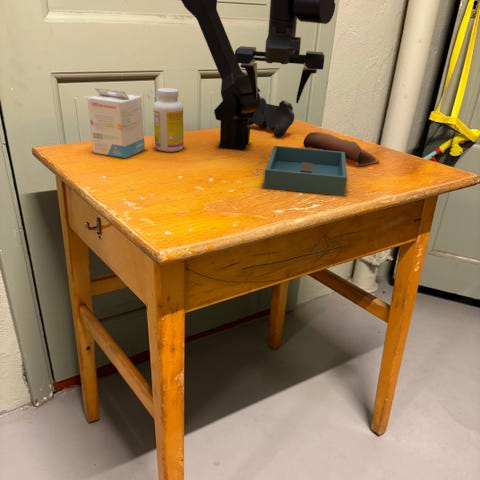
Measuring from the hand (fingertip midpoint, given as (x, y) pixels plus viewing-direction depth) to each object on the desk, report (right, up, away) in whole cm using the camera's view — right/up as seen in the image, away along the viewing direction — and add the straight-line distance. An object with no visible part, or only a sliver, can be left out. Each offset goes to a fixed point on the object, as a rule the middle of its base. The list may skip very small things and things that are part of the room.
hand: (276, 101), depth 115 cm
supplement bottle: (-25, -8, +7) cm, 27 cm away
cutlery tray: (+6, -19, -6) cm, 20 cm away
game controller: (-1, +3, +27) cm, 27 cm away
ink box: (-35, -10, +3) cm, 37 cm away
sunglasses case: (+16, -9, +10) cm, 21 cm away
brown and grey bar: (+6, -18, -6) cm, 20 cm away
